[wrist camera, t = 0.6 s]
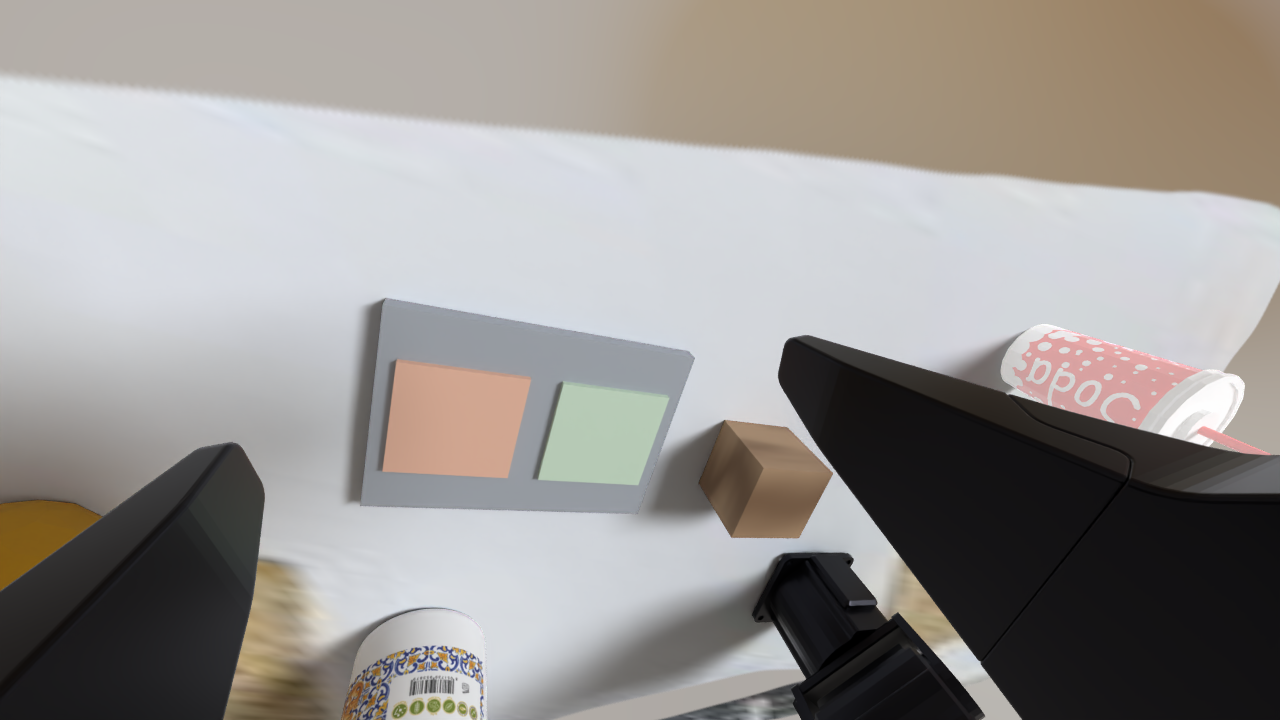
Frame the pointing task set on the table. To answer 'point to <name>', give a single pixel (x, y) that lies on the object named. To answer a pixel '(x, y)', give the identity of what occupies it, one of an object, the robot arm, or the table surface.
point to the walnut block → (762, 481)
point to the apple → (36, 533)
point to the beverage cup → (1124, 386)
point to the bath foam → (420, 670)
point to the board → (514, 414)
